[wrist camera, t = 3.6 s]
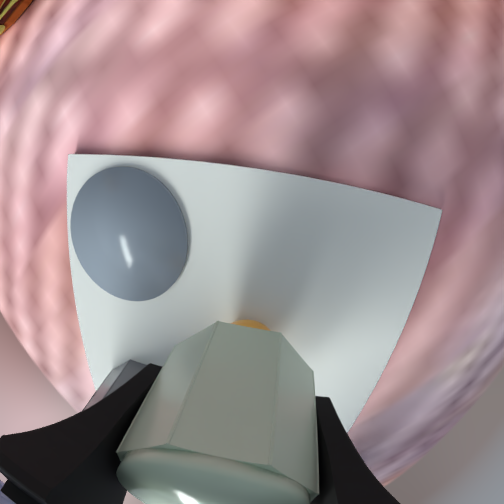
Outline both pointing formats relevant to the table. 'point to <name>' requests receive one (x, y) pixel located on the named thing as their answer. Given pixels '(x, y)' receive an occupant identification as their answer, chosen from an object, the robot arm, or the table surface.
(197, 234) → the mat
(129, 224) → the coaster
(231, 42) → the table surface
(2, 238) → the table surface
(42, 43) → the table surface
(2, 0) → the cheeseburger
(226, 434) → the green acorn nut
